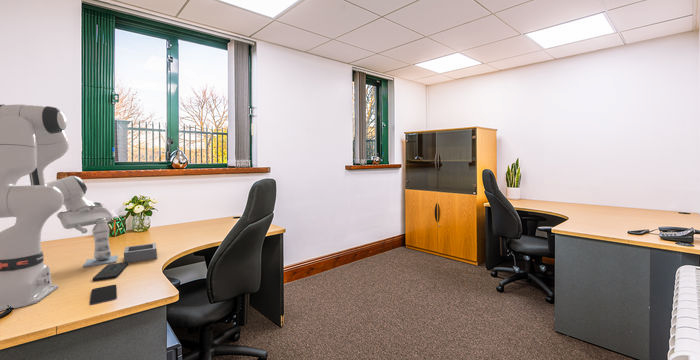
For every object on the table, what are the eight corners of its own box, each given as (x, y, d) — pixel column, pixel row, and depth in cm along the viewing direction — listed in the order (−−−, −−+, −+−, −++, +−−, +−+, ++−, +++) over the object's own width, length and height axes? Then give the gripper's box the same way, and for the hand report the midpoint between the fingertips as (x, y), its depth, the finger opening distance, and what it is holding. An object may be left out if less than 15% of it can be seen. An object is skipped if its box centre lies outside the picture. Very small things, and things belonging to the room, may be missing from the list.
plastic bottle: (102, 262, 146) (99, 220, 145) (90, 261, 147) (87, 219, 146) (115, 258, 152) (112, 217, 151) (103, 257, 153) (101, 217, 152)
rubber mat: (115, 262, 147) (115, 261, 147) (82, 267, 140) (82, 266, 140) (118, 256, 157) (118, 255, 157) (87, 260, 150) (87, 259, 150)
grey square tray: (157, 258, 152) (156, 248, 152) (124, 263, 145) (123, 252, 145) (156, 252, 163) (156, 243, 163) (126, 256, 156) (125, 247, 156)
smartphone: (89, 304, 101) (91, 289, 113) (89, 308, 101) (91, 292, 113) (117, 298, 106) (116, 284, 117) (117, 301, 106) (116, 286, 118)
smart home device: (129, 261, 144) (116, 275, 126) (129, 264, 144) (116, 279, 126) (107, 263, 141) (91, 278, 123) (107, 267, 141) (91, 282, 123)
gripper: (58, 208, 140) (74, 230, 138) (105, 202, 160) (120, 221, 157) (52, 217, 142) (68, 239, 139) (99, 210, 161) (114, 230, 159)
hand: (96, 230), depth 149 cm, fingers open, 8 cm apart
